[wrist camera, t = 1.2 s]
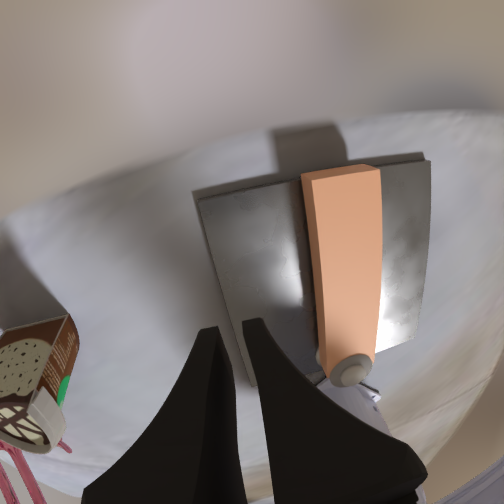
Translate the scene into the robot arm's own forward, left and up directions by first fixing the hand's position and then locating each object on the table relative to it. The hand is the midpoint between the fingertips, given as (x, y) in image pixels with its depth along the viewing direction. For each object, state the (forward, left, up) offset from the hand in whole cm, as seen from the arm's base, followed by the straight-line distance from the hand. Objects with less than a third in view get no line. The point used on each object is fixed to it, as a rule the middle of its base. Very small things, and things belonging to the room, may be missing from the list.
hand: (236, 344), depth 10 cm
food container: (+6, +18, -10) cm, 21 cm away
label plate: (-9, -2, -9) cm, 13 cm away
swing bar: (-8, -2, -8) cm, 12 cm away
